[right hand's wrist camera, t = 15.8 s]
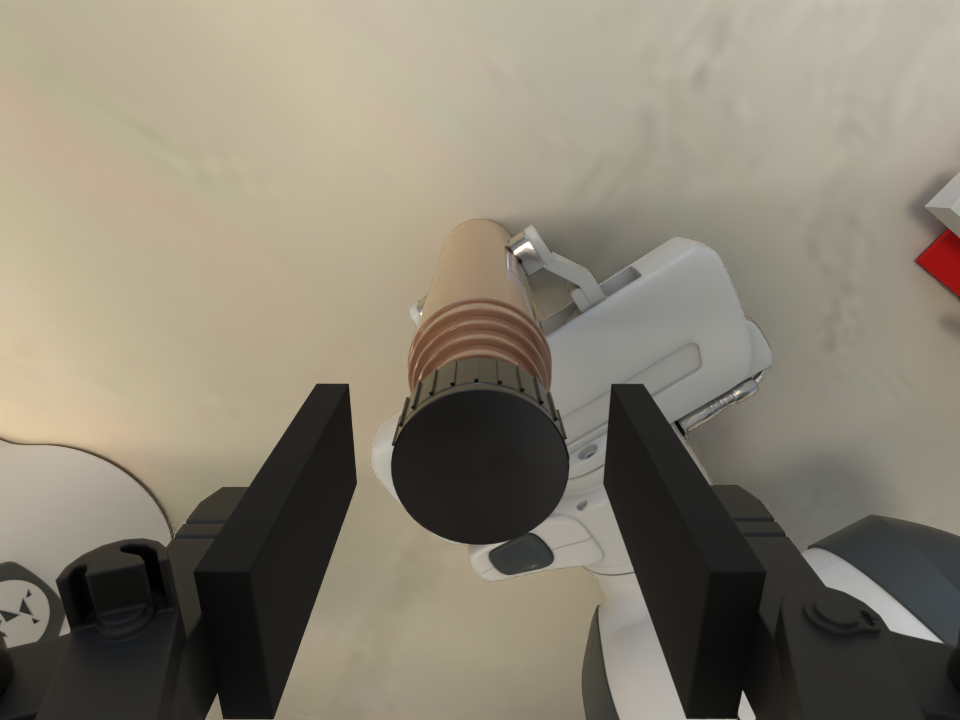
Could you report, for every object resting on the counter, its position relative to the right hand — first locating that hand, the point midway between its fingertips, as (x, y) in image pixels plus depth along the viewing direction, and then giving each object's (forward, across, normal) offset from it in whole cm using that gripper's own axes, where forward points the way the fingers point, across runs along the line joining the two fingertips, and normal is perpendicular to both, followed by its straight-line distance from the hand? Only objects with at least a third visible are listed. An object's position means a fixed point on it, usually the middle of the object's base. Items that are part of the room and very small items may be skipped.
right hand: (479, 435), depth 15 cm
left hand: (+16, 0, +1) cm, 16 cm away
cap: (-1, 0, 0) cm, 1 cm away
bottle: (+23, 0, 0) cm, 23 cm away
